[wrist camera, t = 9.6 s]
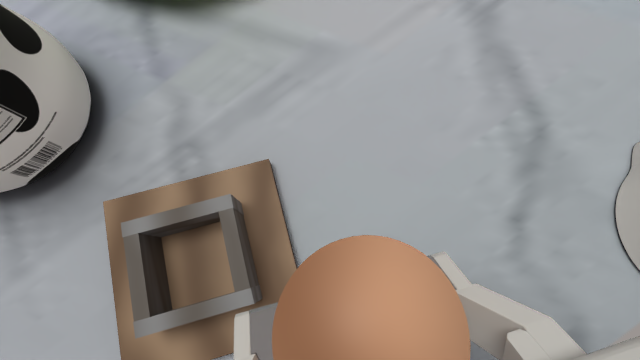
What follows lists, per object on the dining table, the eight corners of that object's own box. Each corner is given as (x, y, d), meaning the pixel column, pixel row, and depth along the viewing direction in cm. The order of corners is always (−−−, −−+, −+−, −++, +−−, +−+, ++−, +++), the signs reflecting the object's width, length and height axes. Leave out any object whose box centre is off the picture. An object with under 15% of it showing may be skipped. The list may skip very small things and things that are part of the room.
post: (364, 241, 18) (426, 212, 8) (392, 326, 17) (503, 409, 7) (284, 267, 17) (250, 267, 8) (308, 356, 16) (304, 486, 7)
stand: (270, 163, 33) (262, 144, 28) (311, 325, 30) (310, 338, 24) (112, 204, 32) (72, 192, 27) (134, 379, 28) (92, 406, 23)
